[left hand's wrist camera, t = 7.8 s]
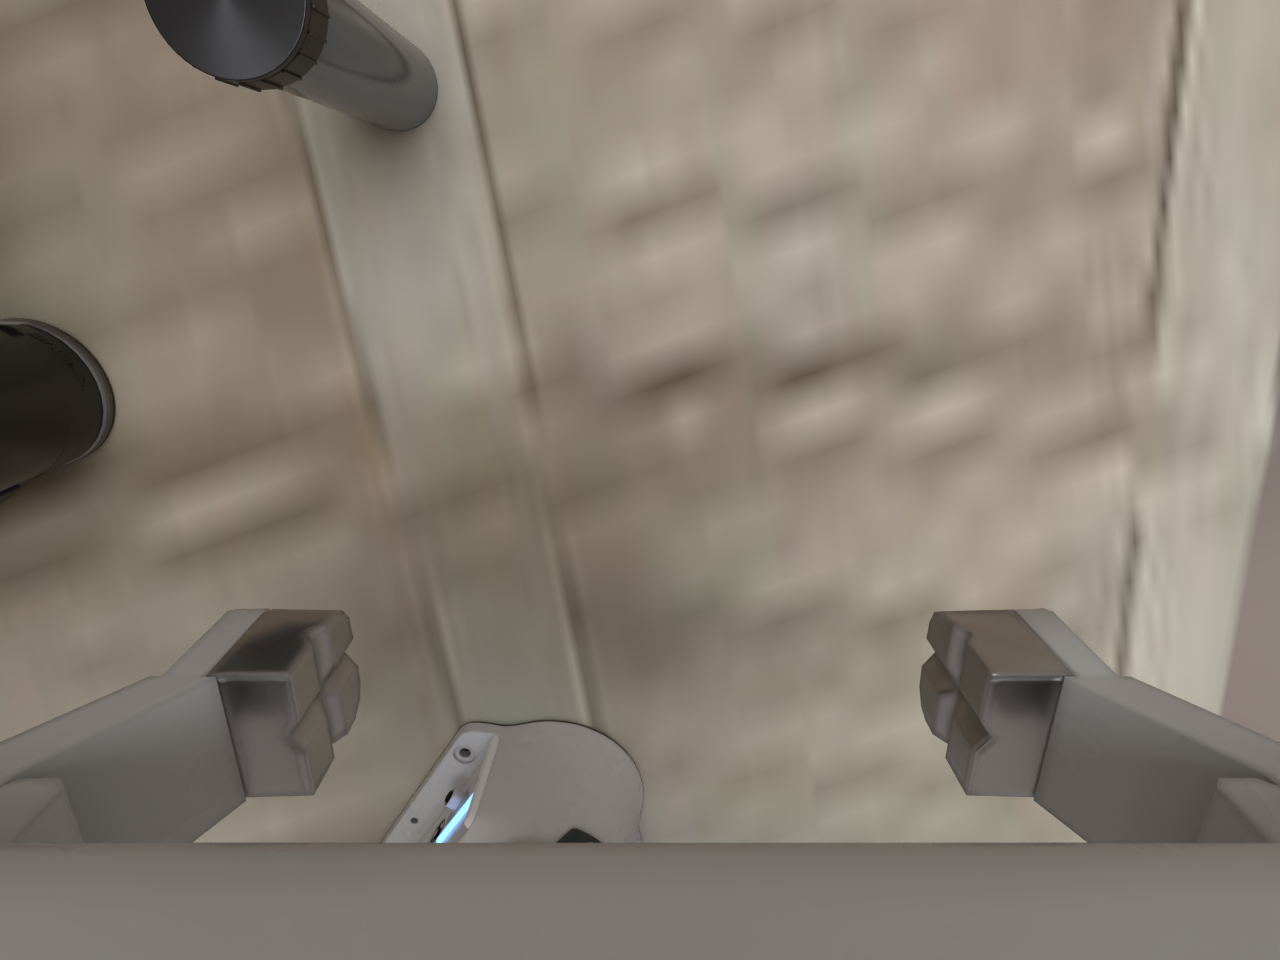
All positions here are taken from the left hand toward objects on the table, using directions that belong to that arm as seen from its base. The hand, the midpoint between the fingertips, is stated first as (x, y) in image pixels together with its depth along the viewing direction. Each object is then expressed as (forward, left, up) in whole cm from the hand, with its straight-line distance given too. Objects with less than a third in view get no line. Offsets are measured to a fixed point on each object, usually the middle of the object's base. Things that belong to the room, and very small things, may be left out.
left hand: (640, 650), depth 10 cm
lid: (0, +18, -19) cm, 27 cm away
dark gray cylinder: (0, +18, -38) cm, 42 cm away
